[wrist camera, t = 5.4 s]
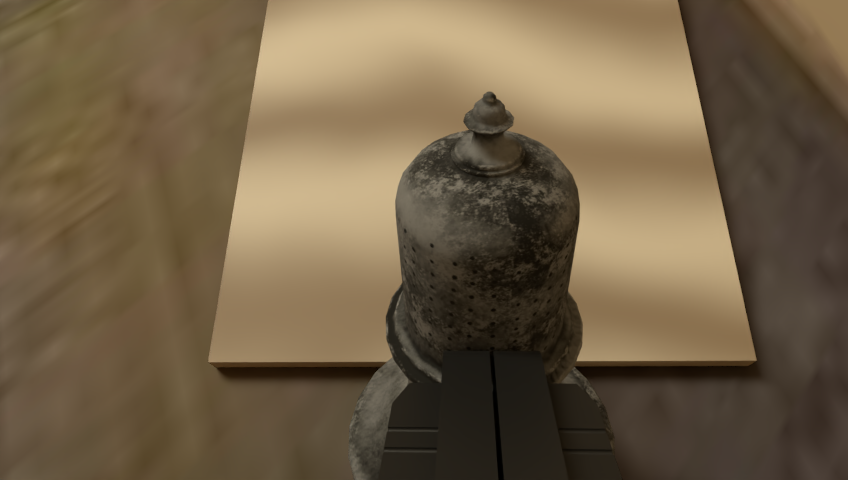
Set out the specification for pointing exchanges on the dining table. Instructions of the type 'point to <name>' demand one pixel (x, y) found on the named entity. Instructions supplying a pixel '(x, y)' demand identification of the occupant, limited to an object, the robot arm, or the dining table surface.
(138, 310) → the dining table surface
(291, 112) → the birch board
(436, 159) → the grey chess piece
